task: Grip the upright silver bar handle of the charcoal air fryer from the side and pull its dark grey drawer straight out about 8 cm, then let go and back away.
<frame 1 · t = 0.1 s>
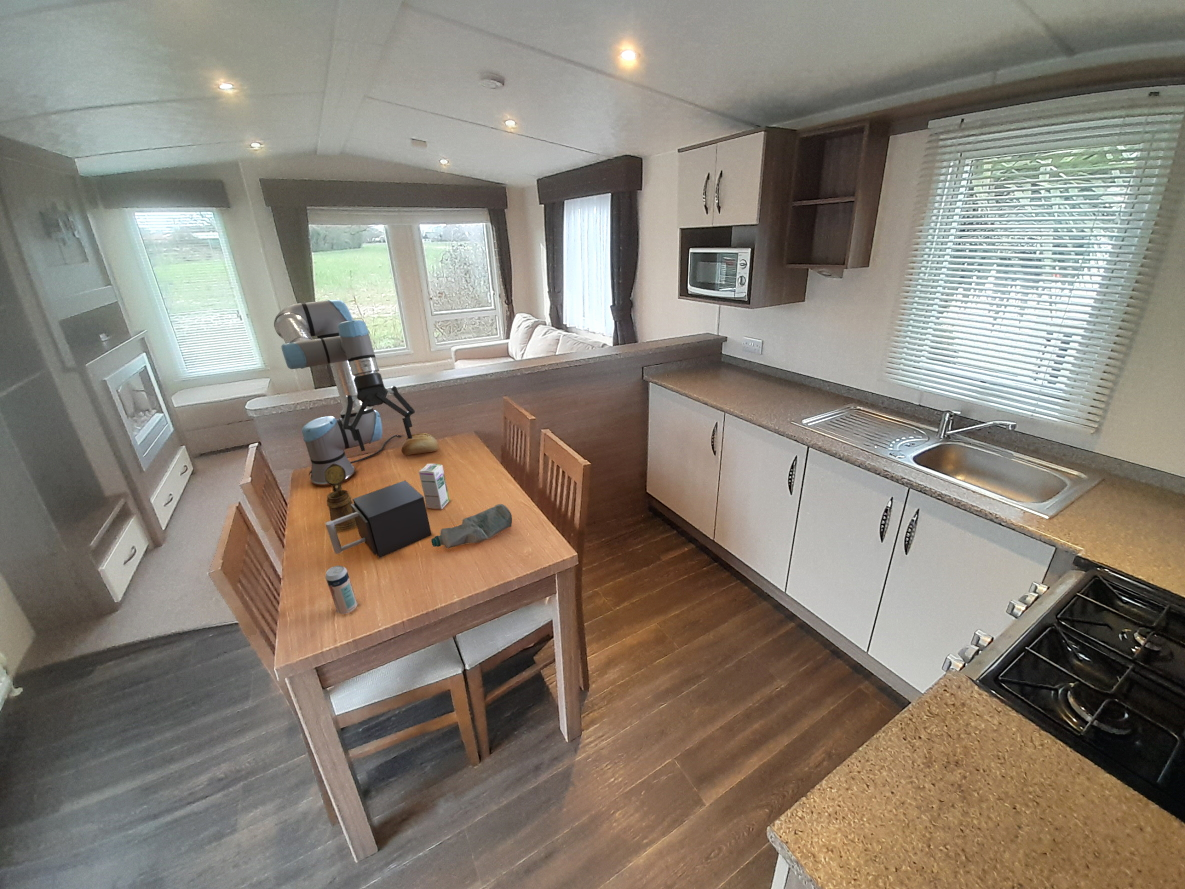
hand: (387, 444, 143), 28 cm above the table, tool tilted 20°, fingers open, 13 cm apart
air fryer: (397, 536, 147), on the table
crushed plastic bottle: (474, 537, 146), on the table
bread roll: (421, 452, 202), on the table
syrup box: (438, 505, 164), on the table
beer can: (347, 608, 120), on the table
dark grey drawer: (374, 524, 141), point 7 cm above the table, slide at 0.0 cm
wooden mug: (346, 520, 157), on the table
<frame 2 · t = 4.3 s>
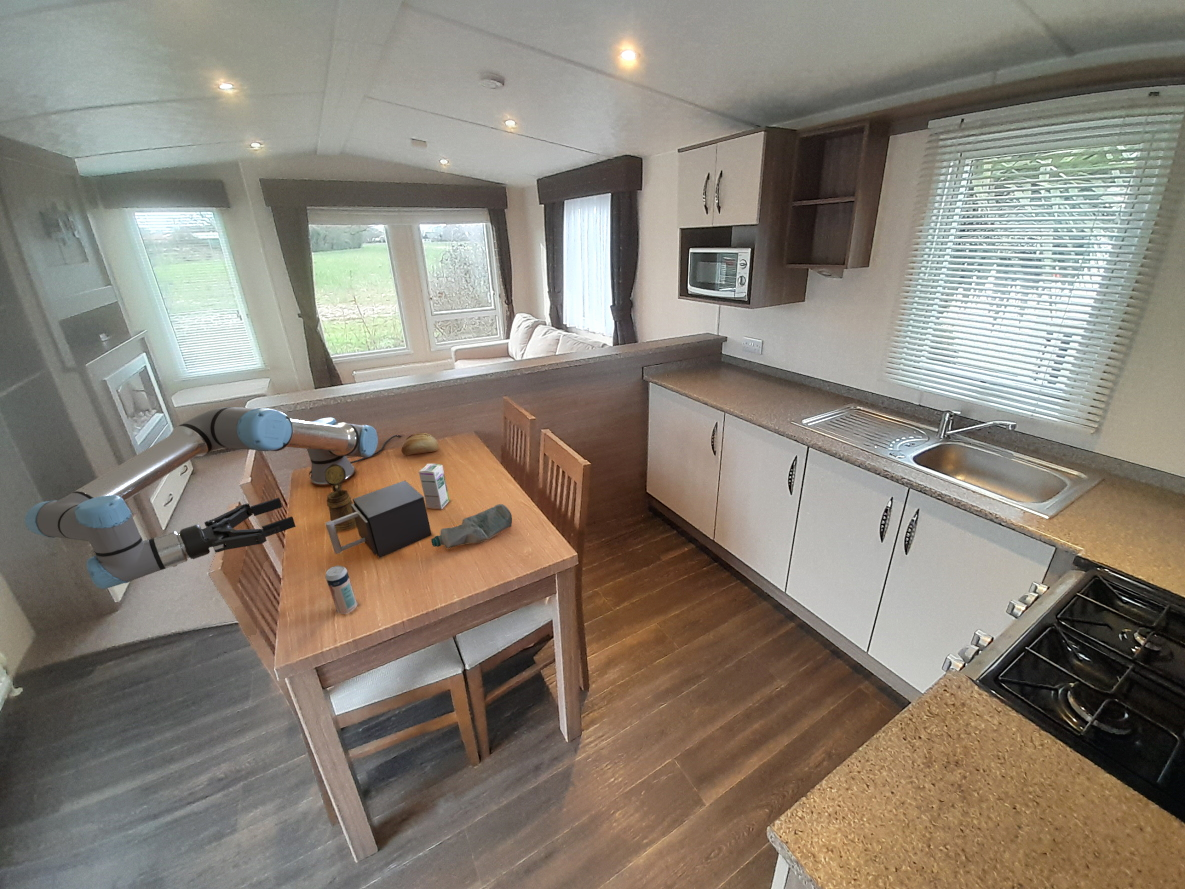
hand: (287, 511, 124), 21 cm above the table, tool horizontal, fingers open, 13 cm apart
nothing on the table moved.
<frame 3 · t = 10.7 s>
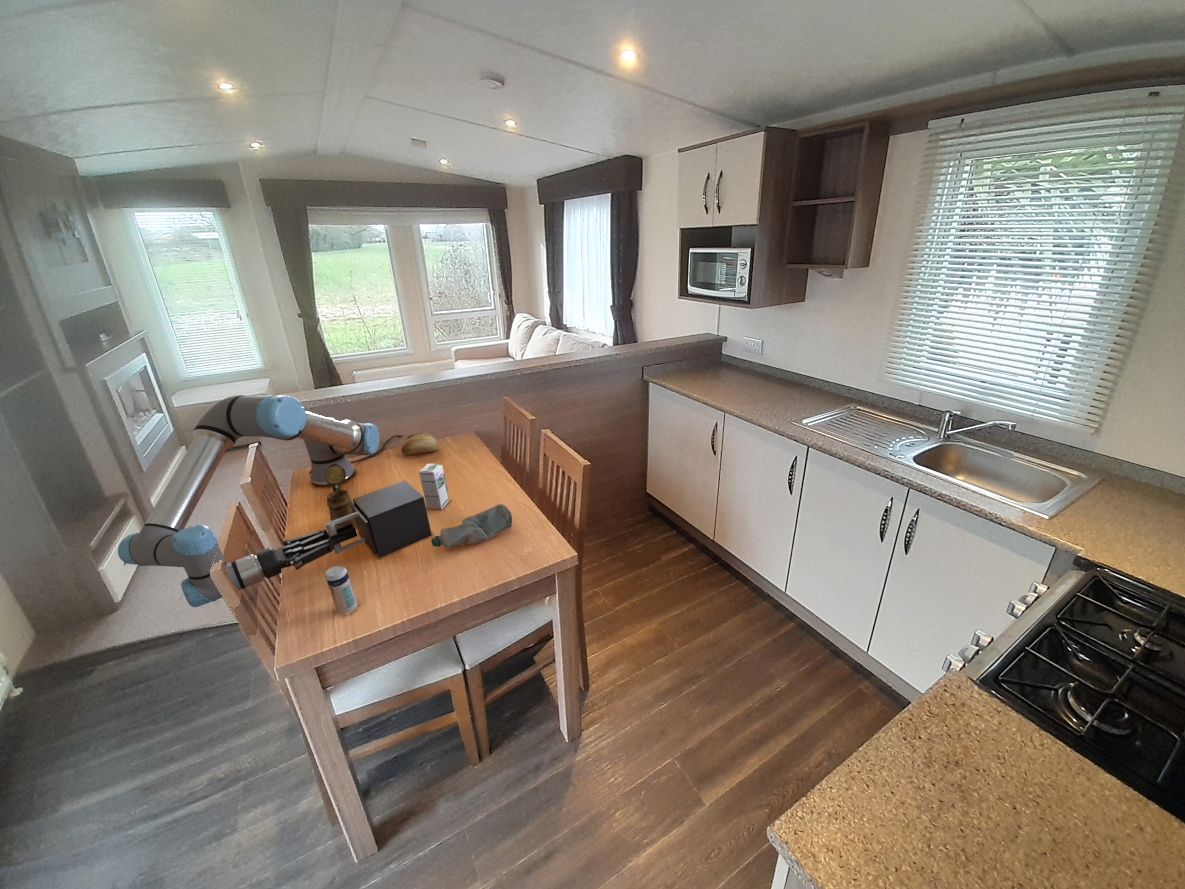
hand: (354, 529, 137), 8 cm above the table, tool horizontal, fingers closed on dark grey drawer, 2 cm apart
dark grey drawer: (374, 524, 141), point 7 cm above the table, slide at 0.0 cm, touching gripper
everything else where it was.
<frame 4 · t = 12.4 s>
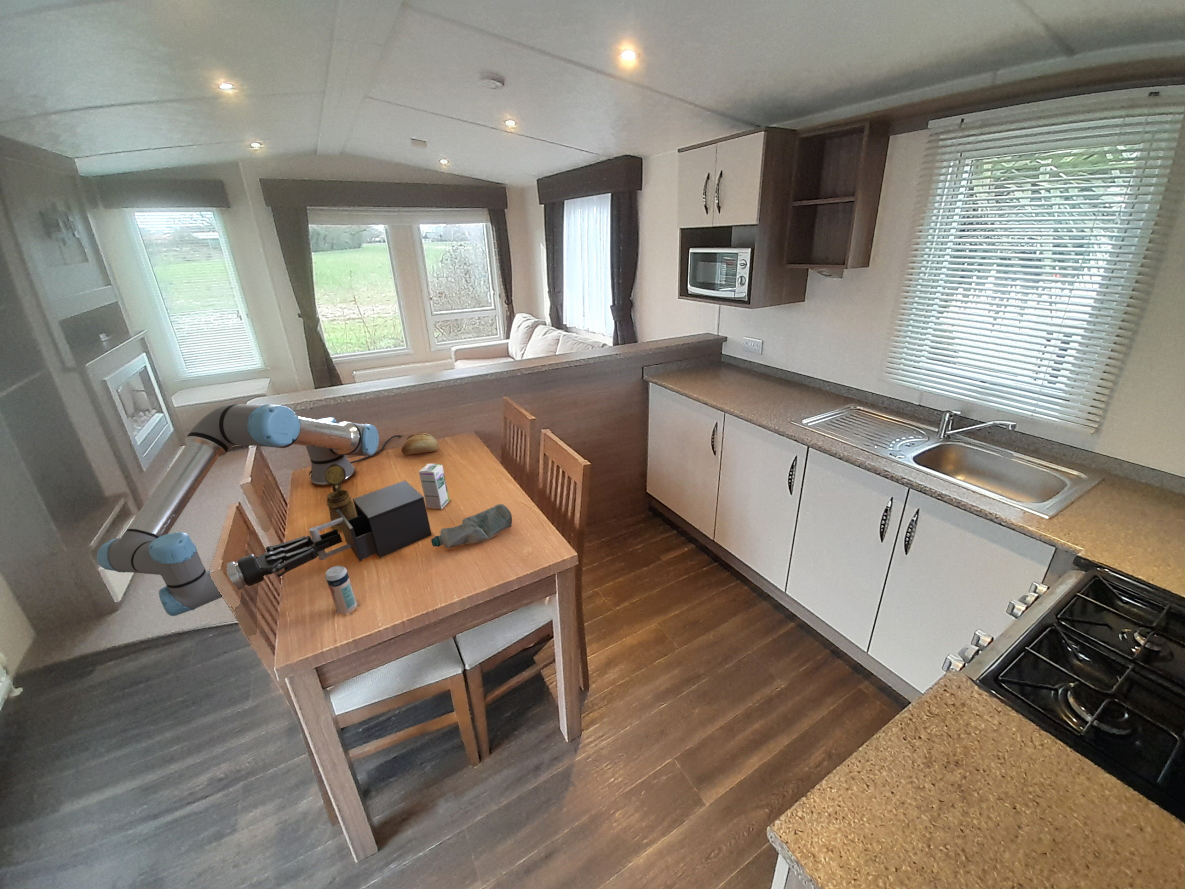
hand: (339, 535, 135), 8 cm above the table, tool horizontal, fingers closed on dark grey drawer, 2 cm apart
dark grey drawer: (360, 530, 139), point 7 cm above the table, slide at 4.1 cm, touching gripper
everything else where it was.
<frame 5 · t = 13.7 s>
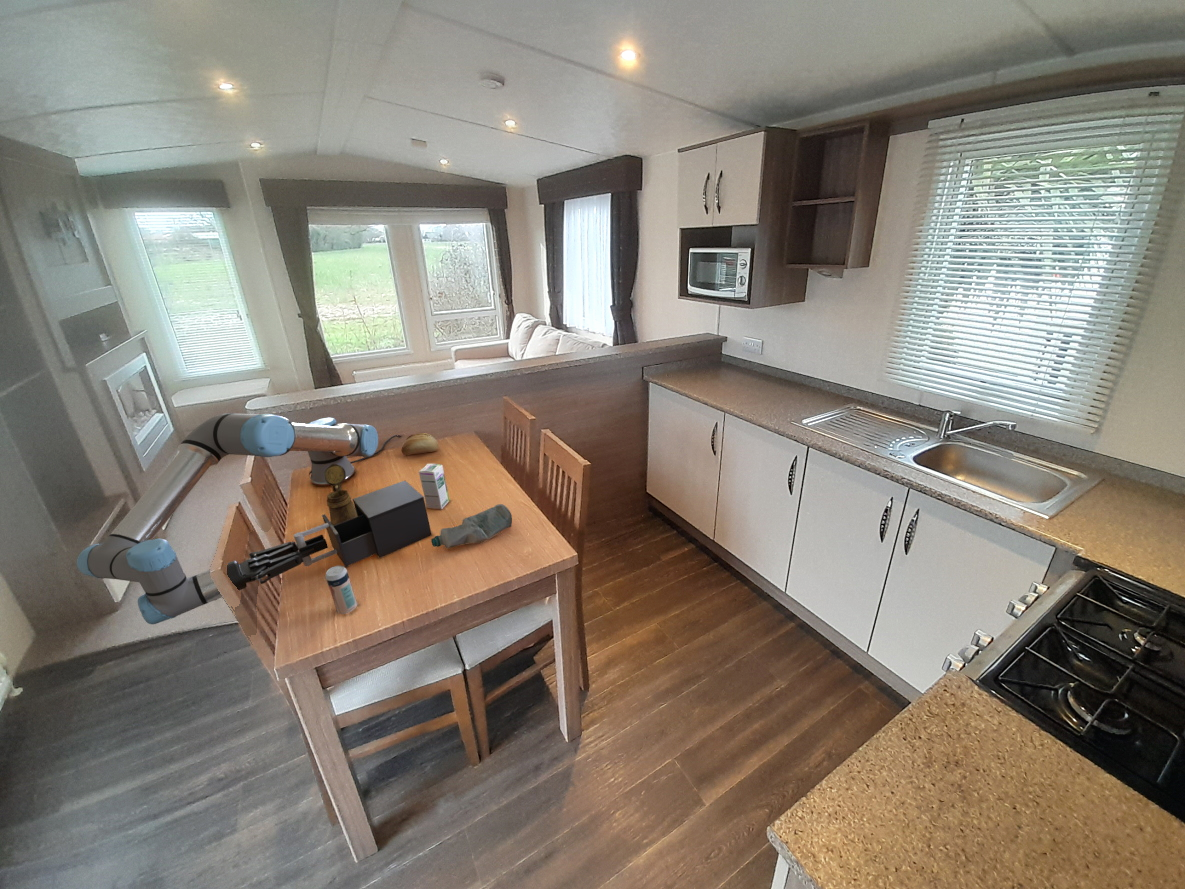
hand: (325, 541, 133), 8 cm above the table, tool horizontal, fingers closed on dark grey drawer, 2 cm apart
dark grey drawer: (346, 535, 136), point 7 cm above the table, slide at 7.9 cm, touching gripper
everything else where it was.
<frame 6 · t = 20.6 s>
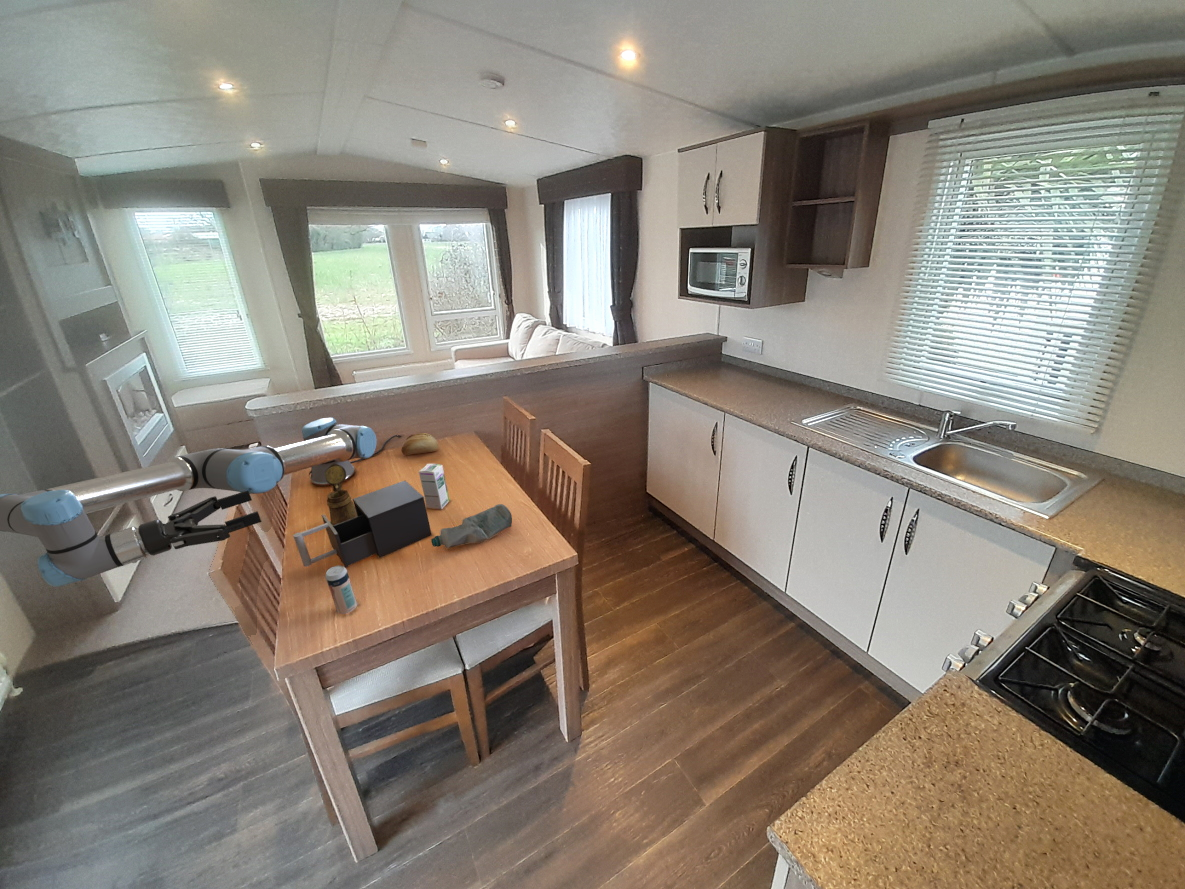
hand: (254, 505, 119), 25 cm above the table, tool horizontal, fingers open, 13 cm apart
dark grey drawer: (346, 535, 136), point 7 cm above the table, slide at 8.0 cm
wooden mug: (346, 520, 157), on the table, touching arm
everything else where it was.
at the end: dark grey drawer slide at 8.0 cm; the gripper is holding nothing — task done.
